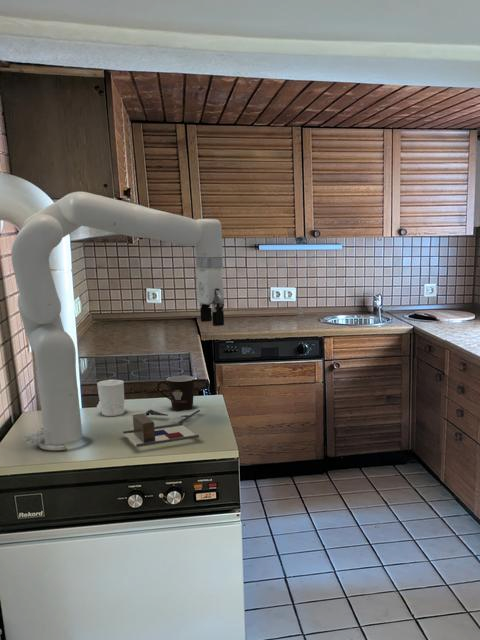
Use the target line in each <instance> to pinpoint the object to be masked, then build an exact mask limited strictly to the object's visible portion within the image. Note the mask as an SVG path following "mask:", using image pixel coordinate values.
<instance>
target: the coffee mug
mask: <svg viewBox="0 0 480 640" xmlns="http://www.w3.org/2000/svg"><path fill="white" fill-rule="evenodd" d="M195 378H196V377H194V376H191V375H174V376H169V377H167V378H166V381H159V382H158V383H157V385H156V388H157V391H158V392H159V393H160V395H162V396H164V397H165V398H167V399H168V400H169V401H170V404H171V408H172V409H171V410H172V411H174V412H184V411H191V410H193V409H194V393H195ZM162 384H164V385H166V386H167V388H168V394H169V396H168V395H167V394H165V393H164V392H163V391H162V390H161V389H160V385H162Z"/></svg>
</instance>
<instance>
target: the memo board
mask: <svg viewBox="0 0 480 640" xmlns="http://www.w3.org/2000/svg"><path fill="white" fill-rule="evenodd" d="M154 429H155V431H157V430H165V431H166V432H167V433H168V434H169V433H176V432H180V433H181V434H182V435H183V436H184V437H178V438H172V439H169V438H168V437H167V436H165V435H159V436H155V441H154V442H147V443H143V442H142V441H141V440H140V439H139V438H138V437H137V436H136V435H135V434H134V429H129V430H123V431H122V434H123V435H124V436H125V437H126V438H127V439H128V440H129V441H130V443H132V444H133V445H134V446H135V447H136V448H139V447H141V448H142V447H146V446H153V445H160V444H165V443H173V442H179V441H184V440H191V439H197V438H200V435H199V434H196V433H194V432H192V430H190V429H189V428H187V427H186V426H185V425H184V422H183V423H178V422H176V423H173V424H165V425H157V426H154Z"/></svg>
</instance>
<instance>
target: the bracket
mask: <svg viewBox="0 0 480 640" xmlns="http://www.w3.org/2000/svg"><path fill="white" fill-rule="evenodd" d="M200 411H201V410H200V409H197V410H196V411H194V412H192V413H191V414H185V415H184V414H183V415H180V417H179V418H183V419H181V420H179V421H178V422H177V423H183V424H184V422H186V421H187V420H189V419H191V418H192V417H194V416H195V415H196V414H198V413H200ZM145 415H146V416H147V417H149V416H150V415H151V416H163V417H164V416H165V417H168V416H169V414H168V413H162V412H158V411H156V410H153V409H149V410H146V413H145Z"/></svg>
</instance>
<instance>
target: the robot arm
mask: <svg viewBox="0 0 480 640" xmlns="http://www.w3.org/2000/svg"><path fill="white" fill-rule="evenodd" d="M81 227H87V228H91V229H96V230H99V231H100V230H101V231H105V232H109V233H113V234H118V235H123V236H126V237H127V236H128V237H132V238H143V239H151V240H158V241H161V242H162V241H163V242H166V243H167V242H168V243H171V244H172V245H175V246H179V247H194V248H195V249H194V250H195V251H194V252H195V268H196V271H197V272H196V300H197V302H198V303H199V310H200V311H199V313H200V322H202V323H205V322H212V326H213V327H222V326H224V325H225V314H224V312H225V308H224V307H225V297H224V296H225V295H224V294H225V292H224V281H223V273H222V270H223V269H224V257H223V255H224V254H223V234H222V232H223V230H222V223H221V221H220V220H219V219H217V218H197V219H194V218H192V217H188V216H184V215H180V214H177V213H176V214H175V213H171V212H168V211H162V210H159V209H155V208H151V207H147V206H144V205H141V204H137V203H132V202H129V201H123V200H120V199H116V198H112V197H107V196H104V195H100V194H95V193H91V192H87V191H73V192H70V193H68V194H66V195H64V196H63V197H61V198H60V199H58V200H56V201H55V202H53V203H51V204H49V205H47V206H45V207H44V208H43V209H41V210H39V211H36V212H35V213H32V215H30V216H28V217H27V218H26V219H25V220H24V221H23V224H22V228H20V230H19V232H18V233H16V236H15V238H14V240H13V243H12V247H11V254H10V256H11V264H12V270H13V273H14V277H15V281H16V285H17V289H18V292H19V294H18V297H17V307H18V311H19V314H20V317H21V321H22V324H23V328H24V331H25V334H26V337H27V341H28V343H29V346H30V348H31V350H32V352H33V353H34V354H35V362H36V363H35V364H36V377H37V386H38V387H37V388H38V393H39V402H40V410H41V420H42V427H41V428H40V430H39V431H37V432H33V433H31V432H30V433H25V434H24V439H25V442H31V443H37V442H38V447H39V448H40V449H41V450H46V451H54V452H55V451H56V452H57V451H67V450H68V449H67V447H66V446H65V445H67V444H72V443H76V442H79V441H81V440H82V439H83V437H84V436H83V428H82V418H81V417H82V415H81V408H80V407H81V406H80V397H79V388H78V379H77V378H78V377H77V353H76V347H75V343H74V340H73V338H72V337H71V336H70V335H69V333H68V332H67V331H65V329H64V324H63V321H62V318H61V311H62V302H61V300H60V297H59V294H58V290H57V288H56V285H55V280H54V278H53V274H52V268H51V266H50V257H51V253H52V251H53V250H54V249H55V248H56V247H58V246H59V244H60V243H61V242H62V240H63V238H65V237H67V236H68V235H70V234H71V233H73V232H75V231H76V230H78V229H79V228H81ZM212 310H213V311H212Z"/></svg>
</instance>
